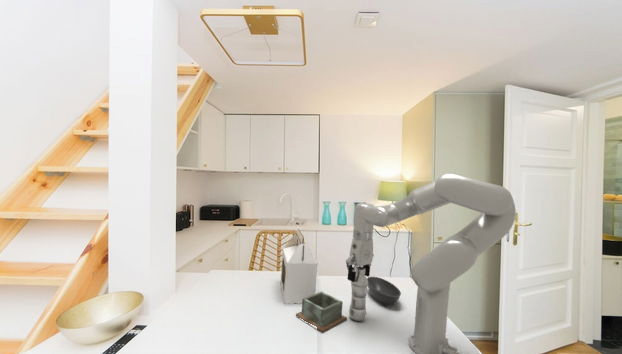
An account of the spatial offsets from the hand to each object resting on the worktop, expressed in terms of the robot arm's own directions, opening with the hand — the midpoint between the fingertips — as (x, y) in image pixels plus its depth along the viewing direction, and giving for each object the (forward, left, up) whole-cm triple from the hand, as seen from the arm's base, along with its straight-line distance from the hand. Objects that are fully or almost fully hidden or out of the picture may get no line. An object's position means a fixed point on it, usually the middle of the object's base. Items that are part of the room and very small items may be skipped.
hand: (358, 278), depth 105 cm
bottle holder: (+8, +11, -16) cm, 21 cm away
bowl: (+2, -24, -16) cm, 29 cm away
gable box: (+31, +4, -16) cm, 35 cm away
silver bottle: (-1, 0, -16) cm, 16 cm away
